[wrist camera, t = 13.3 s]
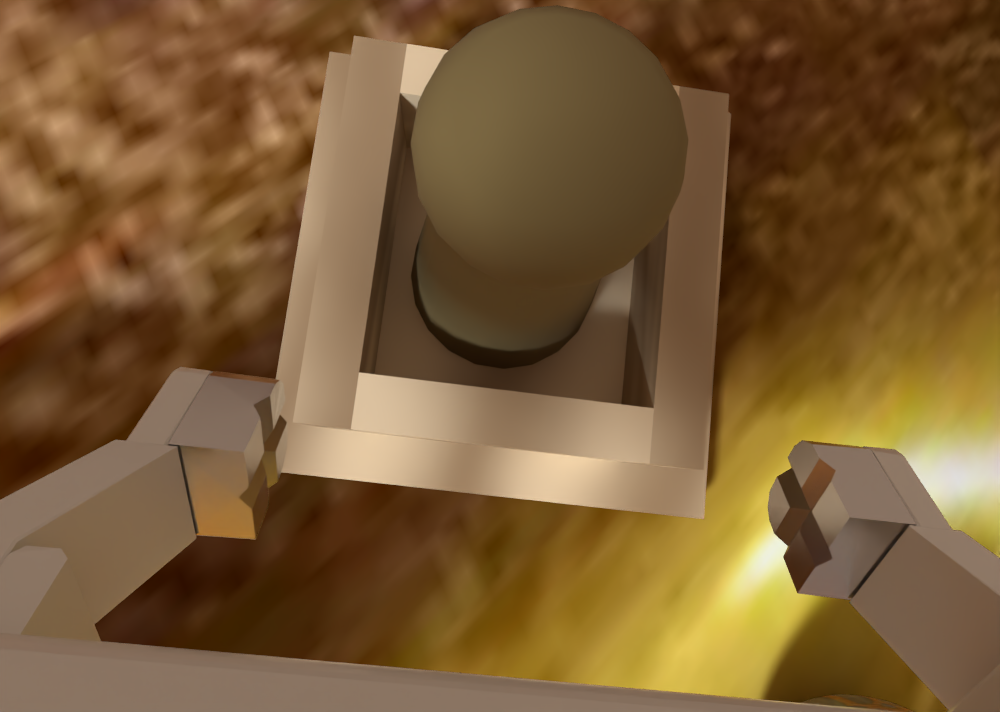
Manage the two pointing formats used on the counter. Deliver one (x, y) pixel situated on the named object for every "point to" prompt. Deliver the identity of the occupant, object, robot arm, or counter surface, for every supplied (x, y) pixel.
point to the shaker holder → (483, 389)
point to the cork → (538, 178)
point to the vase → (857, 702)
